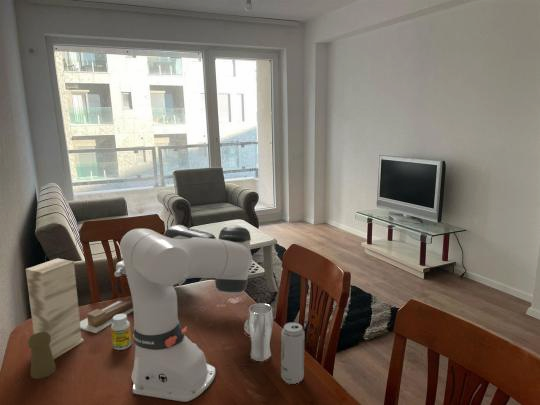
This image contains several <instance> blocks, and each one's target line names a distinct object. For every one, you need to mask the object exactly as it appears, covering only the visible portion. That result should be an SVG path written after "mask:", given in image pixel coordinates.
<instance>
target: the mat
mask: <svg viewBox="0 0 540 405" xmlns="http://www.w3.org/2000/svg"><path fill="white" fill-rule="evenodd" d="M120 302H122V301H121V300H118V301H116V302H114V303H111V304H110V305H108V306H107V307H106V306H105V308H103V309H102V310H105V309H107V308H110V307H112V306H114V305H116V304H118V303H120ZM132 312H133V308H132V309H130V310H128V311H126V312H124V313H122V314H126V315H127V316H128V315H129V314H131V313H132ZM112 324H113V318H112V319H110V320H108V321H106V323H104V324H102V325H100V326H98V327H96V328H95V327H93V326H90V325H88V318H87V317H86V318H85V319H82V320H80V328H81V330H83V331H86V332H90V333H94V334H98V333H99V332H100V331H102V330H103V329H105V328H107V327H109V326H110V325H112Z"/></svg>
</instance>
